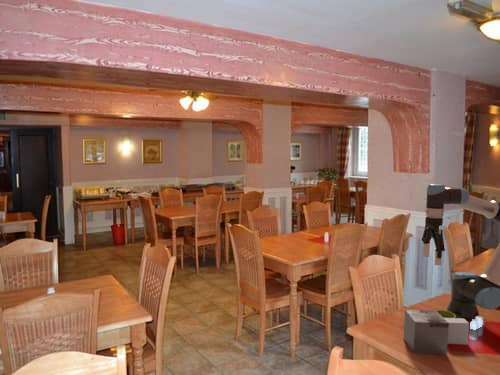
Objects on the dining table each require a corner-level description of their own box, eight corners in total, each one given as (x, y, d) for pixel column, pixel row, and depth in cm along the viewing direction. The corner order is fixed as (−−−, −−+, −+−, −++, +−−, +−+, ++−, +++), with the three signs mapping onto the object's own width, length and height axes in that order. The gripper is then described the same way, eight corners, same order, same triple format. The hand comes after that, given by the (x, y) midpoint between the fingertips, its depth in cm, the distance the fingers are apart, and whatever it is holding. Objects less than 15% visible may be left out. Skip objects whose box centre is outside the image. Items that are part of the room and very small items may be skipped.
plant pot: (452, 328, 198) (453, 311, 197) (456, 337, 189) (457, 319, 188) (431, 325, 201) (432, 309, 200) (434, 334, 192) (435, 316, 191)
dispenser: (434, 340, 186) (436, 310, 184) (446, 354, 173) (448, 323, 171) (403, 338, 186) (405, 309, 185) (413, 353, 174) (415, 322, 172)
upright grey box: (462, 339, 187) (463, 318, 186) (467, 344, 182) (469, 323, 181) (440, 338, 188) (441, 317, 187) (444, 343, 183) (446, 322, 182)
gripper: (416, 212, 203) (413, 253, 205) (437, 221, 178) (434, 268, 180) (431, 212, 203) (428, 253, 205) (454, 221, 178) (451, 268, 180)
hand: (431, 260), depth 193 cm, fingers open, 13 cm apart
